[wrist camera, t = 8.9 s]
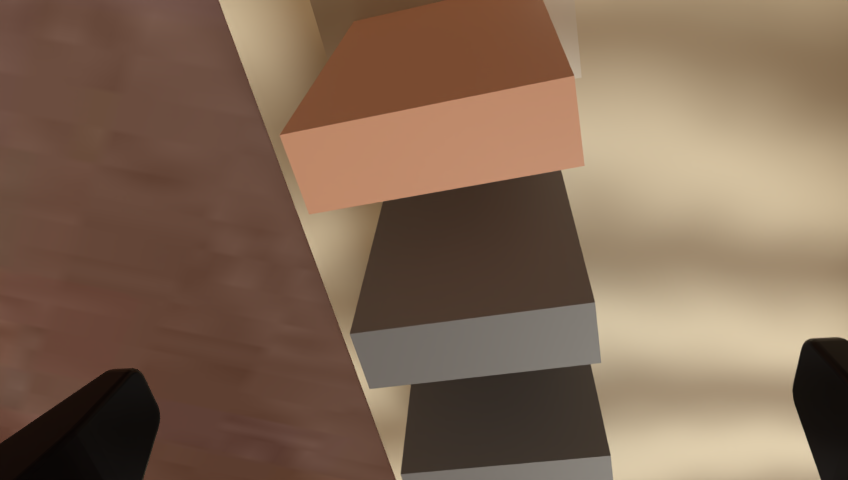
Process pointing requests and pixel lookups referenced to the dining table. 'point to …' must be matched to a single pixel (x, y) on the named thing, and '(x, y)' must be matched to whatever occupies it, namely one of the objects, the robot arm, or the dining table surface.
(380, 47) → the end tile
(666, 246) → the domino board
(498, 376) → the domino
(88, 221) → the dining table surface
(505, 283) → the domino
